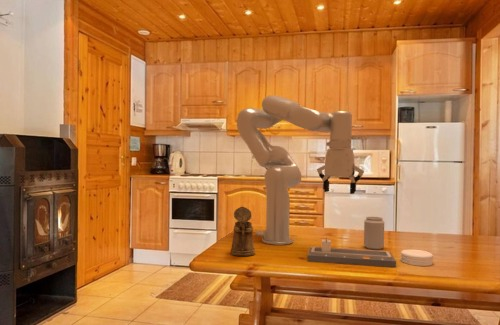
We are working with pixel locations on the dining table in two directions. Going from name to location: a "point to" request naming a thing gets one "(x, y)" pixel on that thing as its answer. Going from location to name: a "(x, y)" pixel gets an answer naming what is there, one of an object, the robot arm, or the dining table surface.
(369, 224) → the can
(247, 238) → the brown bell figurine
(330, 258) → the dark grey tray
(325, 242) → the cap
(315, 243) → the dining table surface
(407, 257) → the white cheese wheel
